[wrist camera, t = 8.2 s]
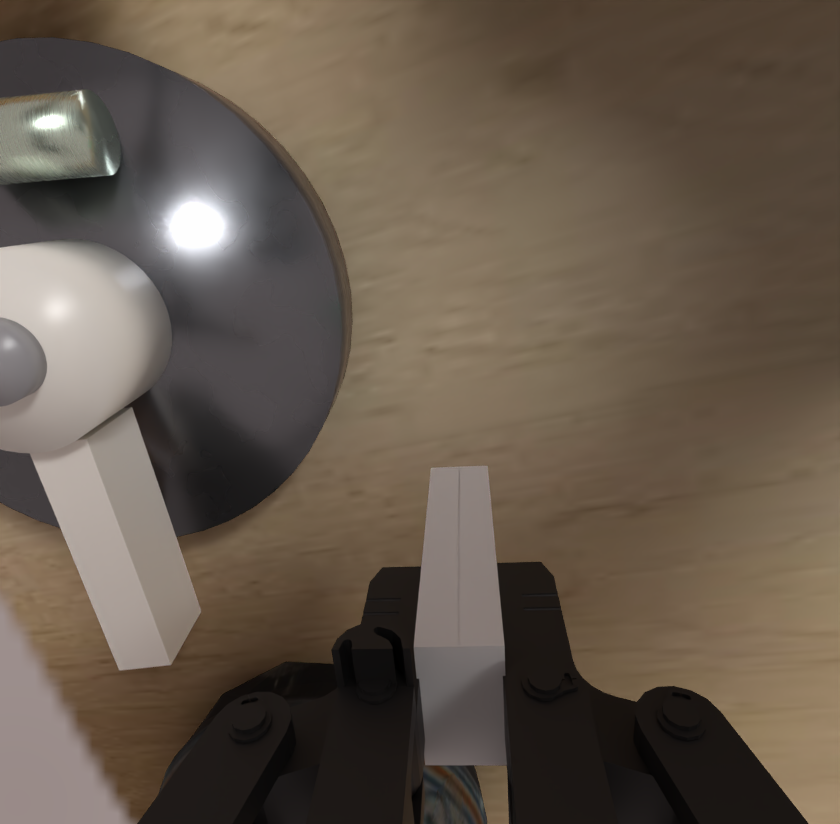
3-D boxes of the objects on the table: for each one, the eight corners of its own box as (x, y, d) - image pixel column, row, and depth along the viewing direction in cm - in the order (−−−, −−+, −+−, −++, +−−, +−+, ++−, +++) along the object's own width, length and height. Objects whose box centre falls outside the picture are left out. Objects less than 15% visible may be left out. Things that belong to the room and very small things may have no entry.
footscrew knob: (-24, 253, 21) (-165, 274, 16) (141, 225, 20) (48, 236, 16) (117, 610, 26) (43, 708, 21) (253, 595, 25) (208, 691, 21)
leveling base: (-166, 81, 22) (-345, 50, 17) (320, 32, 21) (283, -16, 16) (-9, 514, 28) (-107, 585, 23) (374, 493, 27) (359, 563, 22)
